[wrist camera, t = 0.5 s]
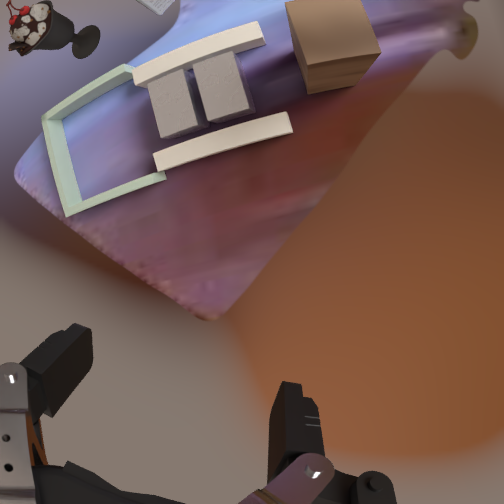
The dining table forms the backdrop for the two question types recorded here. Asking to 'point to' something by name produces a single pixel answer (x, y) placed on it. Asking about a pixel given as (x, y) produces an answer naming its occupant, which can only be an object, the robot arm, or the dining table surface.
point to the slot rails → (223, 138)
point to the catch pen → (61, 153)
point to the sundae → (49, 31)
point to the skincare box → (156, 5)
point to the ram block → (331, 42)
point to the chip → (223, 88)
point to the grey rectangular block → (177, 104)
